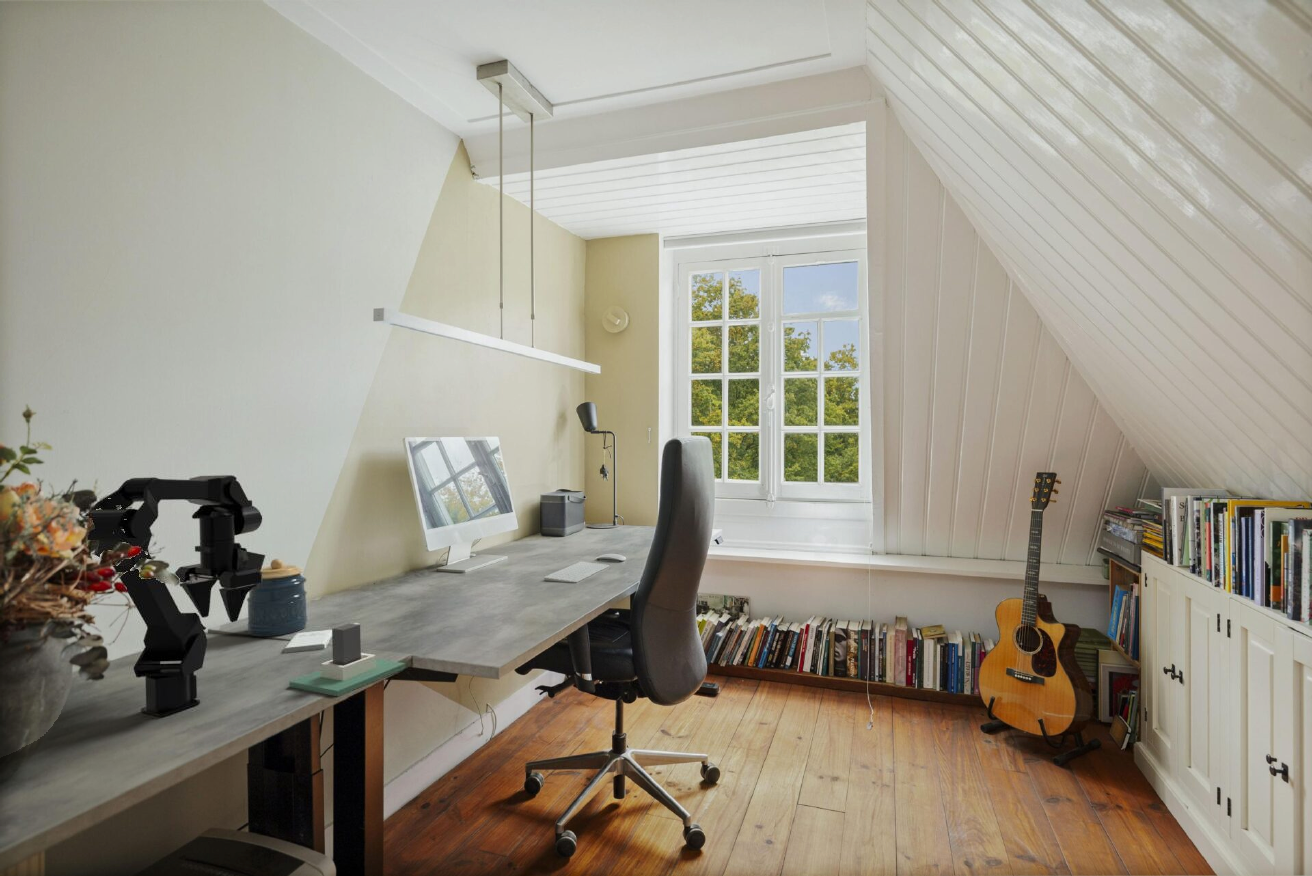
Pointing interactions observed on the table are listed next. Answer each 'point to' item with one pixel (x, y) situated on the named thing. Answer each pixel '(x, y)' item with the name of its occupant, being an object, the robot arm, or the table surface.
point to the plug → (346, 644)
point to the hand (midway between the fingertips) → (219, 619)
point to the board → (346, 675)
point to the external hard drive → (309, 641)
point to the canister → (277, 601)
